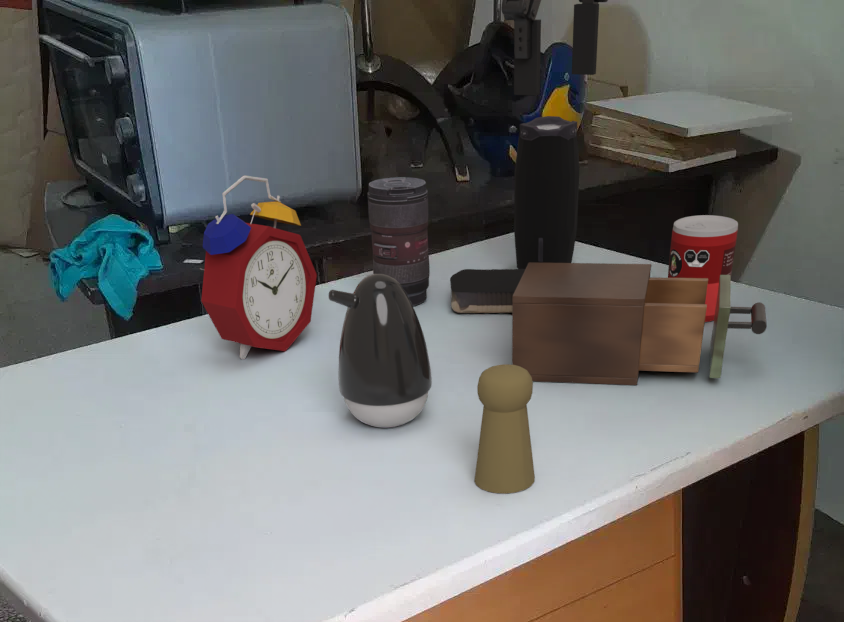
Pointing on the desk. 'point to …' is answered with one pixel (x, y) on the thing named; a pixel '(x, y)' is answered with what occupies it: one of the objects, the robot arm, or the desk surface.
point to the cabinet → (580, 322)
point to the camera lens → (401, 233)
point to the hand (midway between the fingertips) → (556, 84)
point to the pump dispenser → (382, 353)
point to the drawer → (689, 324)
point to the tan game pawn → (504, 430)
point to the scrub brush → (484, 290)
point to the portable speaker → (546, 191)
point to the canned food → (703, 252)
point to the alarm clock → (257, 277)
